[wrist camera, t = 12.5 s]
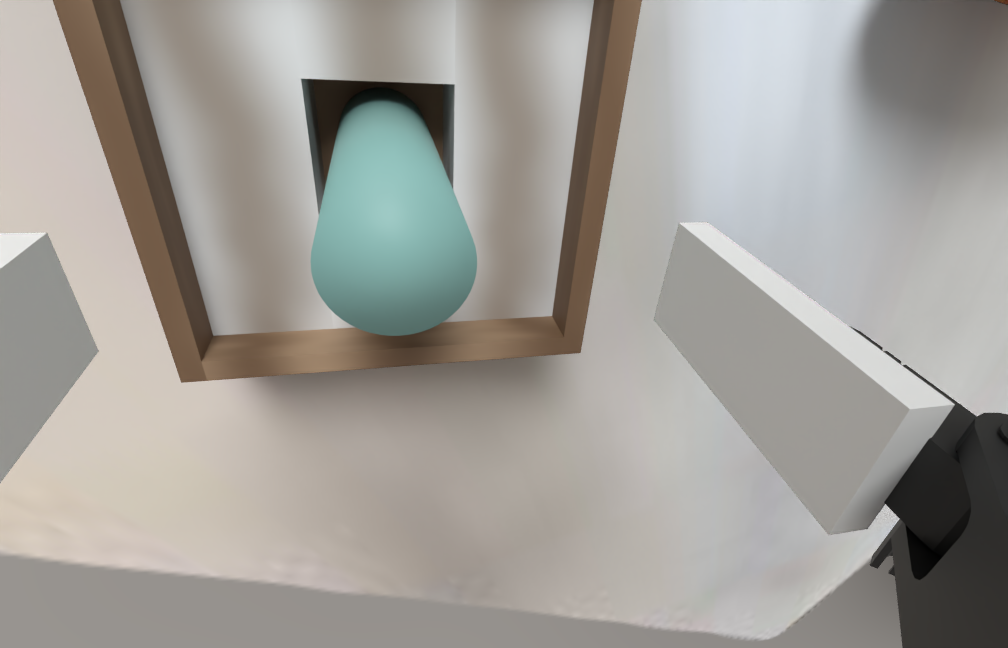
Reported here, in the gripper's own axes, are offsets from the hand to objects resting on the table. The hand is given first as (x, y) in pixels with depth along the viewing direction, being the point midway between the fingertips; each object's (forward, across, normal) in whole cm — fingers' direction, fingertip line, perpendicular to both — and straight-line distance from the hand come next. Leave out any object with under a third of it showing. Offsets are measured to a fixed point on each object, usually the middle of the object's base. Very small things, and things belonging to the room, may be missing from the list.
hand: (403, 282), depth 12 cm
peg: (+15, 0, 0) cm, 15 cm away
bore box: (+16, 0, 0) cm, 16 cm away
